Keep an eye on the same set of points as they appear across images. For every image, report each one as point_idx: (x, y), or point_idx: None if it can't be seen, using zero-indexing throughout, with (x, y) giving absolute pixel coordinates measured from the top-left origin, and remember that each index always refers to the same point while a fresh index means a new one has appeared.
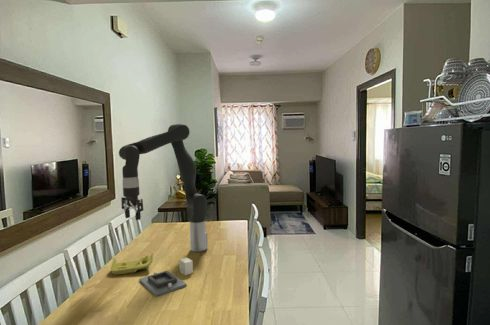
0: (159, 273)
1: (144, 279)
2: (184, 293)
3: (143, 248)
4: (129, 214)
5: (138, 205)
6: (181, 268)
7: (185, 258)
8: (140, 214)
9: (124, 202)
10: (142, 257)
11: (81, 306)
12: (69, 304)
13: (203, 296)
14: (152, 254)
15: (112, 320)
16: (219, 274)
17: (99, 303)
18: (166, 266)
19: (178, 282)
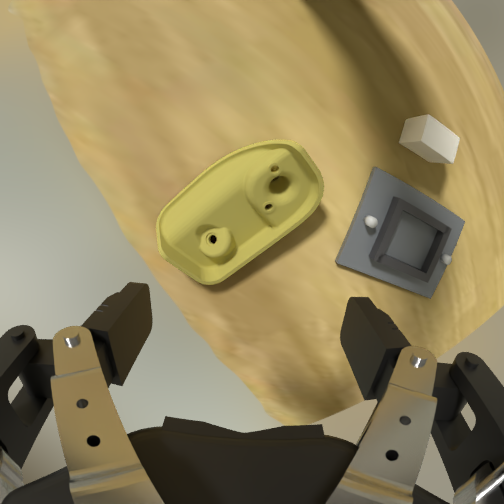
0: (393, 225)
1: (356, 258)
2: (470, 251)
3: (98, 56)
4: (135, 304)
5: (472, 465)
6: (417, 150)
7: (432, 124)
8: (403, 335)
9: (11, 441)
10: (260, 179)
11: (304, 395)
12: (273, 402)
13: (498, 242)
14: (303, 155)
15: None
16: (485, 127)
17: (330, 375)
18: (331, 125)
19: (447, 224)
